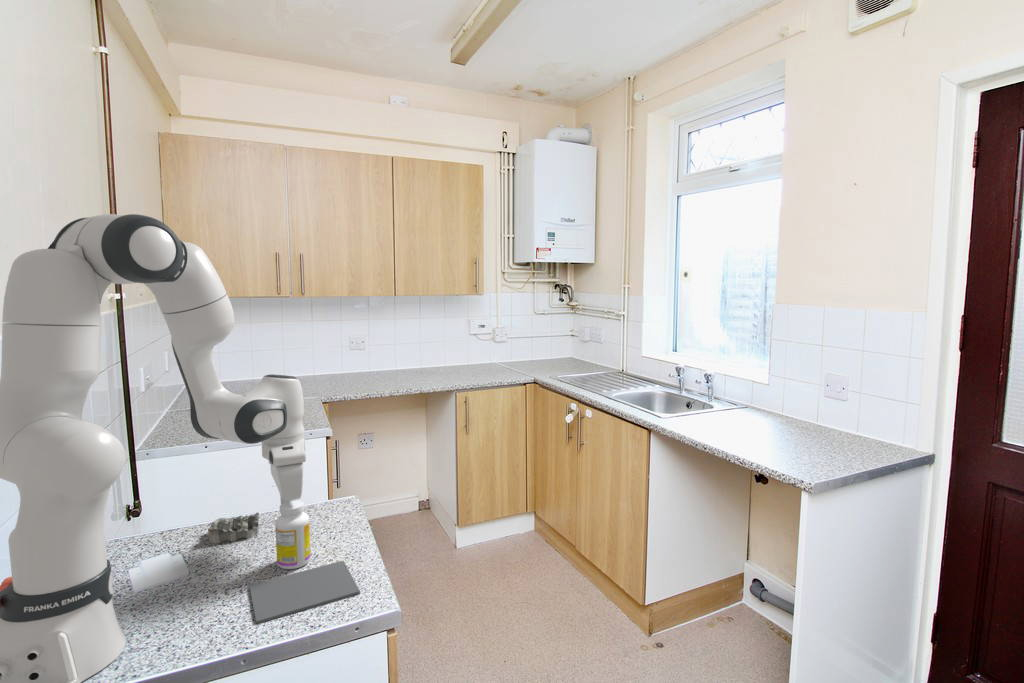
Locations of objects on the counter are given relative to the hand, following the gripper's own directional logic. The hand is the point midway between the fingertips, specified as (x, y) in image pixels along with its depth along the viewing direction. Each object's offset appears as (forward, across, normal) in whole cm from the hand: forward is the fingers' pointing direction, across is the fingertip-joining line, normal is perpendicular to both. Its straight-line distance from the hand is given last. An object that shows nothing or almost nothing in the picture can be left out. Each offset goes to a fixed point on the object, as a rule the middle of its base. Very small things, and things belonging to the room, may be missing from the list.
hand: (285, 506), depth 117 cm
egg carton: (+10, -13, -10) cm, 19 cm away
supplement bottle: (+10, +8, 0) cm, 13 cm away
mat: (+10, +20, 0) cm, 22 cm away
